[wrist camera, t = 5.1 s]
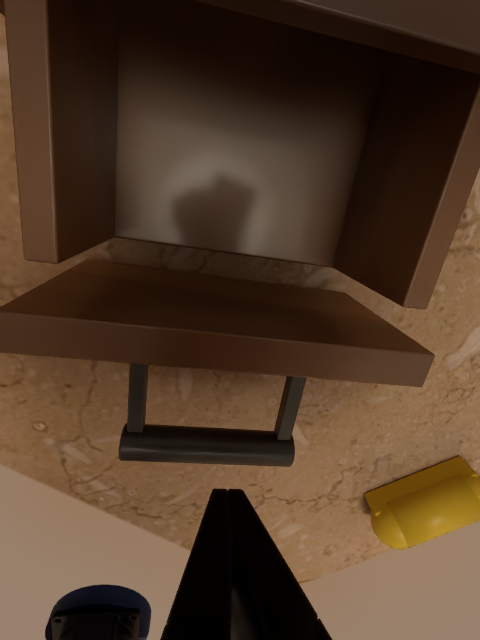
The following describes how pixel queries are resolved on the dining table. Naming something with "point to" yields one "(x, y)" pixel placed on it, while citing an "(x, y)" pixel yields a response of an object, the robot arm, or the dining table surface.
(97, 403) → the dining table surface
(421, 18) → the cabinet
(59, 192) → the drawer
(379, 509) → the yellow rounded block
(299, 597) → the robot arm
